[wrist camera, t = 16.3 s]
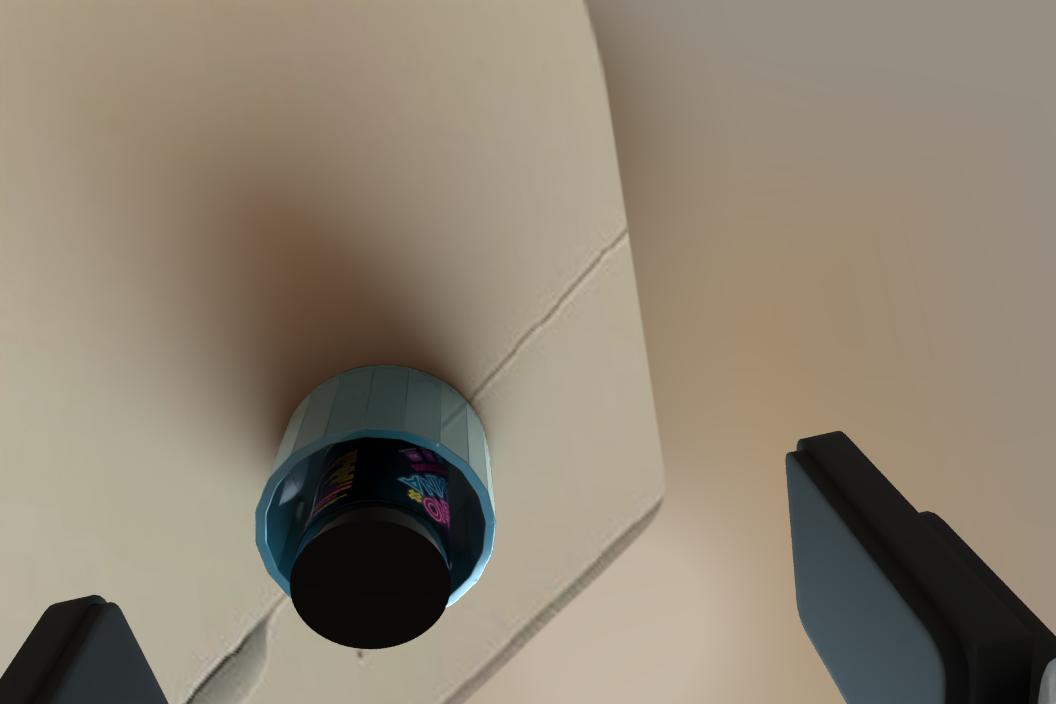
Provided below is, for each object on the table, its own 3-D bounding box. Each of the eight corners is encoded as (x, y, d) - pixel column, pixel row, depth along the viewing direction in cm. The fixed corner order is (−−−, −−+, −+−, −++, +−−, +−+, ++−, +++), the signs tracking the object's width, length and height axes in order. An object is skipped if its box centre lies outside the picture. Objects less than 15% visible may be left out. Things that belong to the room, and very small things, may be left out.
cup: (462, 344, 42) (465, 404, 36) (506, 517, 47) (515, 599, 40) (254, 389, 42) (220, 458, 36) (317, 559, 47) (297, 647, 40)
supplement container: (420, 529, 46) (413, 667, 36) (304, 489, 44) (265, 622, 35) (471, 432, 44) (478, 551, 34) (351, 385, 42) (323, 497, 33)
